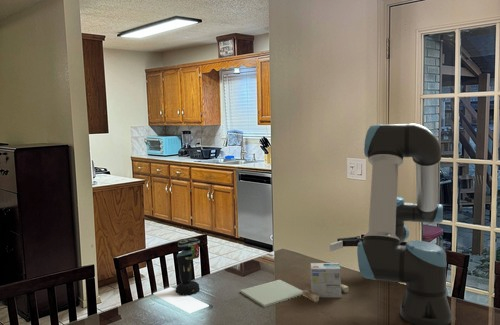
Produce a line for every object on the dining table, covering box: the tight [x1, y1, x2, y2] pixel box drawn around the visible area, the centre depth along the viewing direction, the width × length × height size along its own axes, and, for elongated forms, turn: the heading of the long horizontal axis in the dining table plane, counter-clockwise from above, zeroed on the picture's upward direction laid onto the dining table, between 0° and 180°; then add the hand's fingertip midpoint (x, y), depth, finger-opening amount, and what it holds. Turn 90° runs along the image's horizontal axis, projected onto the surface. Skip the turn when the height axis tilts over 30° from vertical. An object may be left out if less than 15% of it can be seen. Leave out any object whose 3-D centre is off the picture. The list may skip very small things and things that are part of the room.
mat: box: [239, 279, 304, 308], centre depth 163 cm, size 16×18×1 cm
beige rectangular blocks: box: [302, 283, 350, 303], centre depth 161 cm, size 7×16×2 cm, turn 122°
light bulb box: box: [310, 262, 342, 299], centre depth 161 cm, size 11×7×11 cm, turn 84°
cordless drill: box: [175, 237, 201, 296], centre depth 167 cm, size 9×12×20 cm
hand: (344, 251), depth 166 cm, fingers open, 13 cm apart
